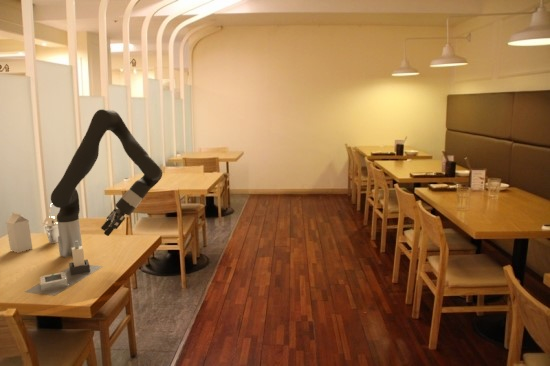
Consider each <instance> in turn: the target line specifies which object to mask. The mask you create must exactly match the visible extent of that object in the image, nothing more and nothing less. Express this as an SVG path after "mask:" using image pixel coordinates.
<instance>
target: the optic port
mask: <svg viewBox="0 0 550 366" xmlns="http://www.w3.org/2000/svg"><path fill="white" fill-rule="evenodd" d="M39 281H40V282H39V284H40V285H41V292H45V291H50V290H55V289H59V288H64V287H68V284H67V277H66V273H65V272H62V271H60V272H56V273H51V274H46V275H42V276H40V275H39ZM68 288H69V287H68Z"/></svg>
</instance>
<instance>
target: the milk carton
mask: <svg viewBox="0 0 550 366" xmlns="http://www.w3.org/2000/svg"><path fill="white" fill-rule="evenodd" d="M5 224H6V230H7V235H8V236H7V237H8V243H9V248H10V251H11V250H12V251H11V252H13V251H14V253H16V252H17V253H16V254H20V253H23V252H26V250H27V251H30V250H33V249H32V248H33V243H32V242H33V241H32V235H31V229H30V223H29V220H28V219H27V218H25V215H23V214H21V213H18V212H11V215H10V216H9V218H8V219H7V220H6V222H5ZM29 249H30V250H29ZM22 251H23V252H22ZM19 252H20V253H19Z"/></svg>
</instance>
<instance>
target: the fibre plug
mask: <svg viewBox="0 0 550 366" xmlns="http://www.w3.org/2000/svg"><path fill="white" fill-rule="evenodd" d="M74 244H75V247H72V255H73V257H72V262H73V263H74V267H77V266H82V265H85V262H84V260H85V256H84V255H85V253H84V248H83V245H82V246H79V241H74Z"/></svg>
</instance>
